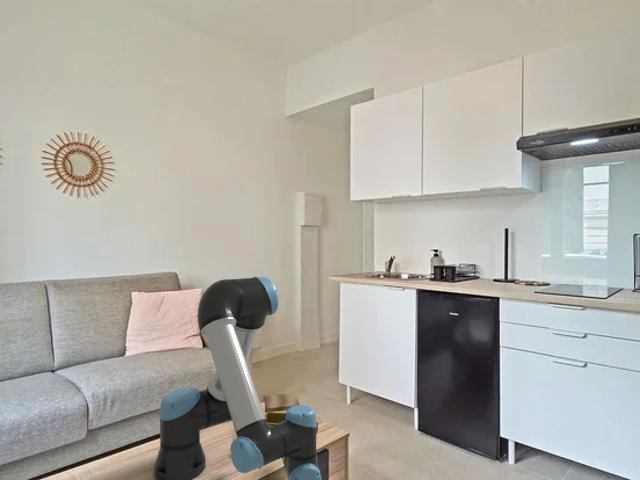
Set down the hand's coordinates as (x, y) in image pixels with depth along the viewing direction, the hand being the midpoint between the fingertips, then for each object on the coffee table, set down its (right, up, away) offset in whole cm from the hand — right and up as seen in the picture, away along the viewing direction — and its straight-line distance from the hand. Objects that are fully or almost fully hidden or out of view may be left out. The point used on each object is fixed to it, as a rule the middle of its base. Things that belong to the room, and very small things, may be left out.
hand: (281, 420), depth 132 cm
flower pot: (-3, -13, +10) cm, 16 cm away
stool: (-2, -12, +23) cm, 26 cm away
